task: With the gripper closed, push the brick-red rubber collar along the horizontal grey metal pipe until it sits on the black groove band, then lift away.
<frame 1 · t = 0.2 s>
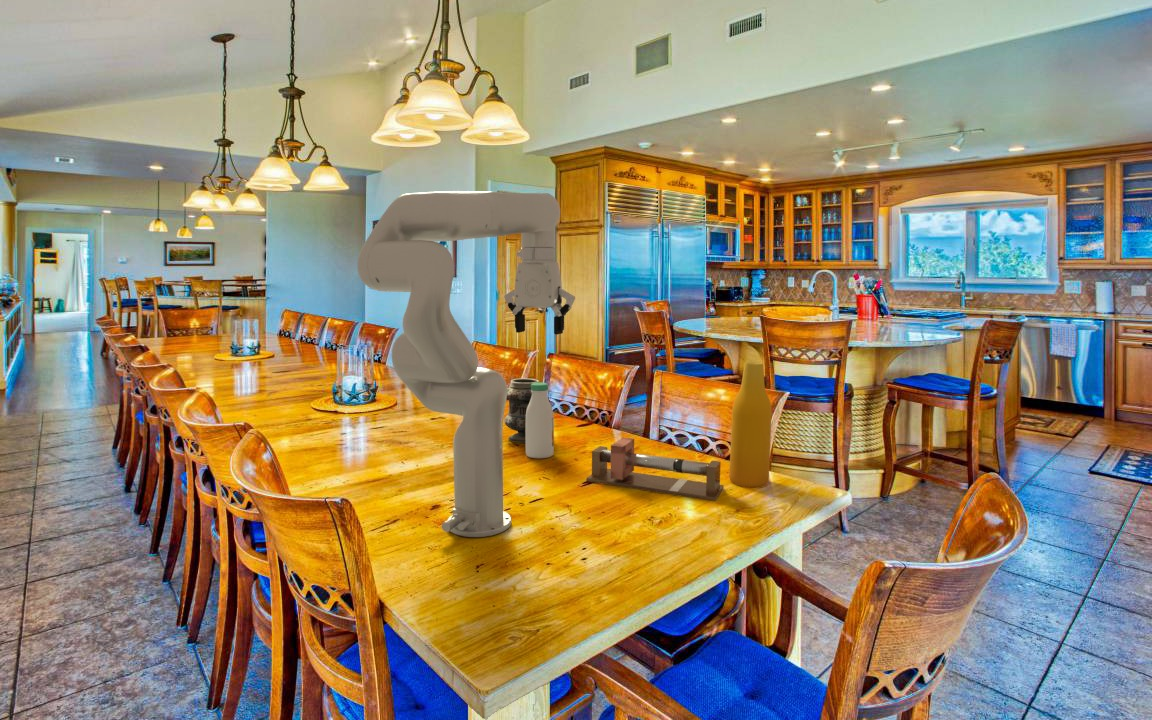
hand: (539, 332, 142), 36 cm above the table, tool pointing down, fingers open, 9 cm apart
apothecary jar: (524, 439, 190), on the table
milk bottle: (539, 455, 173), on the table
pipe rig: (653, 484, 149), on the table
collar: (622, 458, 152), point 6 cm above the table, slide at 0.0 cm
beer bottle: (748, 482, 152), on the table
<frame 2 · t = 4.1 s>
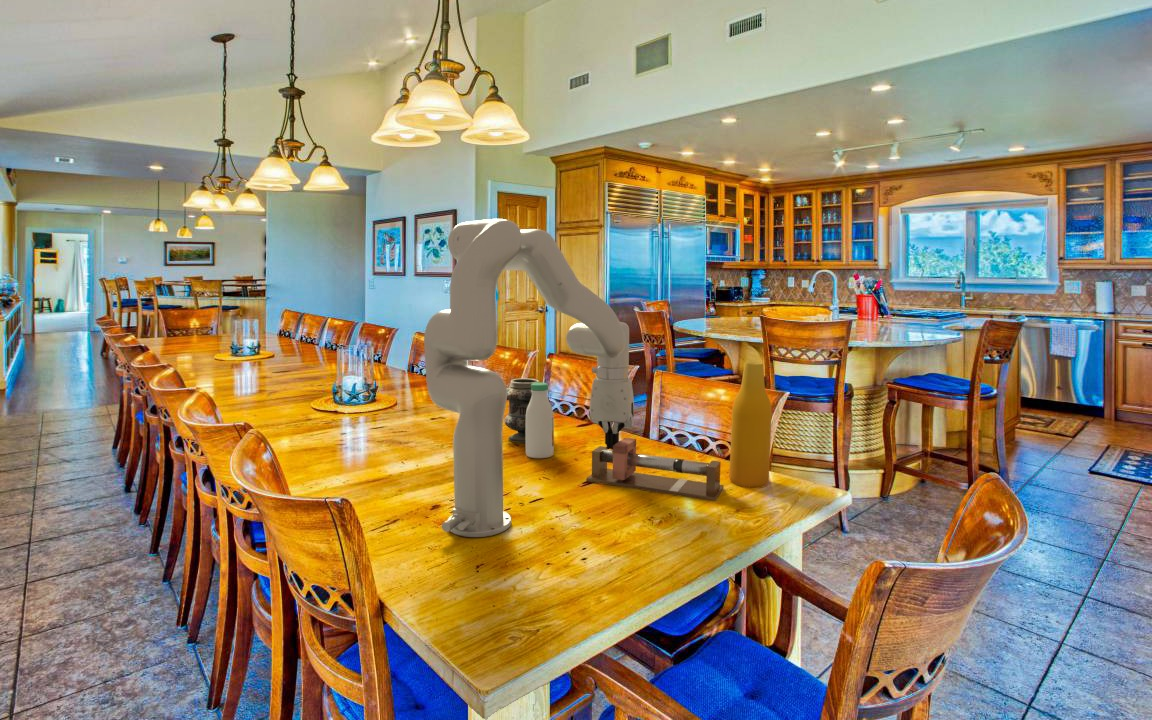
hand: (611, 447, 153), 8 cm above the table, tool pointing down, fingers closed
collar: (624, 458, 152), point 6 cm above the table, slide at 0.5 cm, touching gripper
everything else where it was.
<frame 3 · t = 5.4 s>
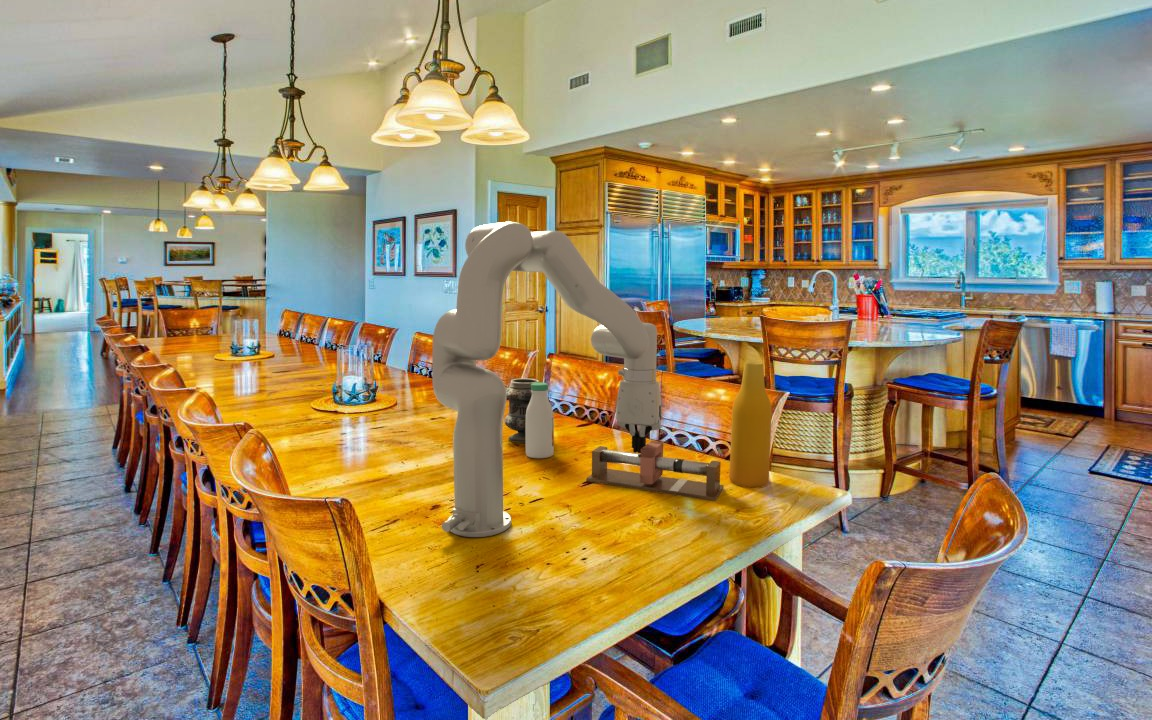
hand: (638, 451, 150), 8 cm above the table, tool pointing down, fingers closed
collar: (651, 462, 149), point 6 cm above the table, slide at 7.4 cm, touching gripper
everything else where it was.
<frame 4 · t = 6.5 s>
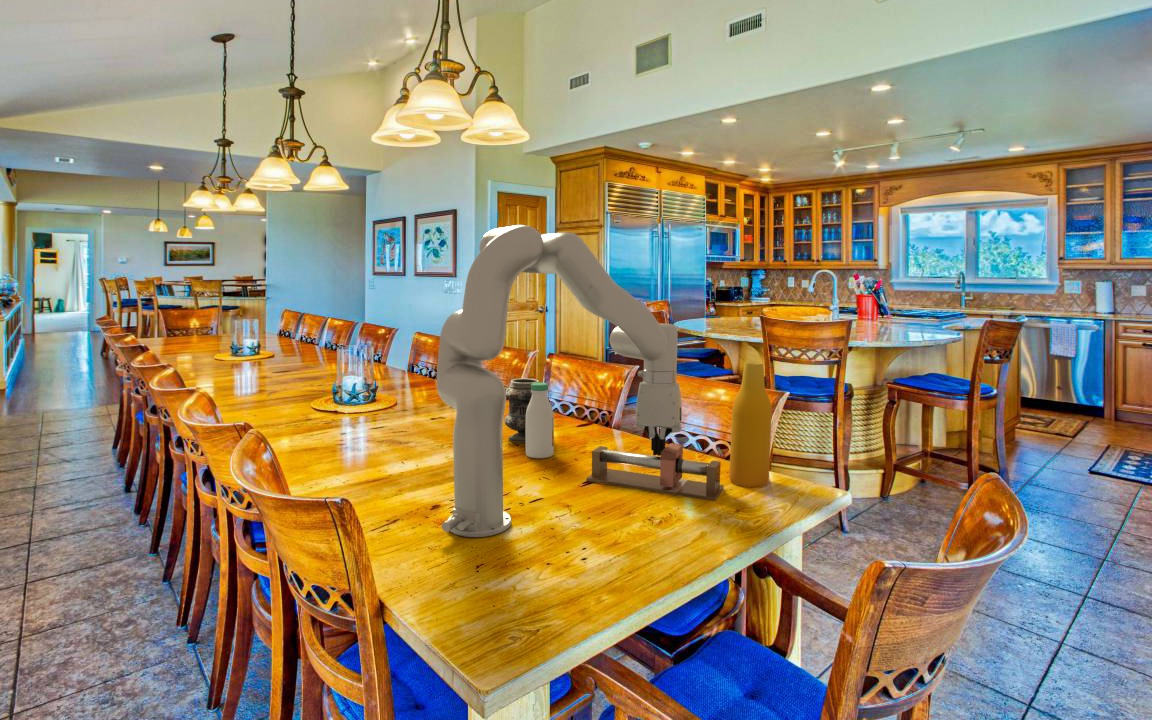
hand: (658, 453, 148), 8 cm above the table, tool pointing down, fingers closed
collar: (671, 464, 147), point 5 cm above the table, slide at 12.2 cm, touching gripper
everything else where it was.
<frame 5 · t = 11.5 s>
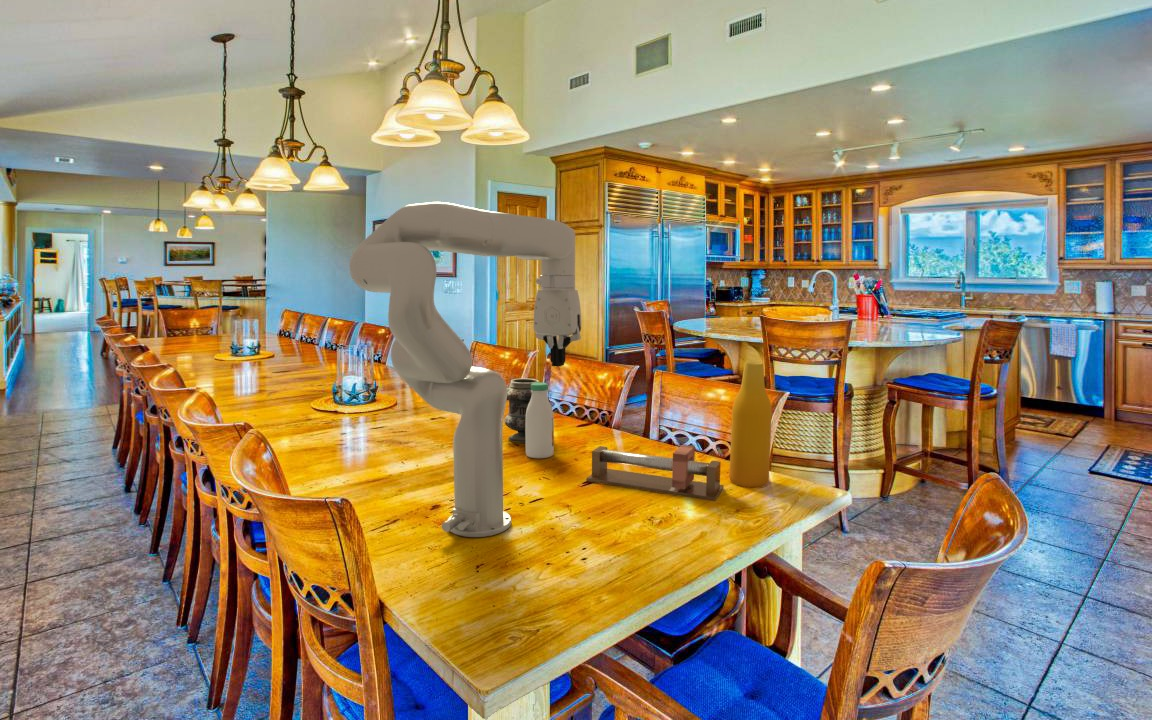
hand: (557, 365, 141), 29 cm above the table, tool pointing down, fingers closed
collar: (683, 466, 146), point 6 cm above the table, slide at 15.1 cm
everything else where it was.
at the end: collar slide at 15.1 cm; collar moved 15.1 cm from its start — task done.
